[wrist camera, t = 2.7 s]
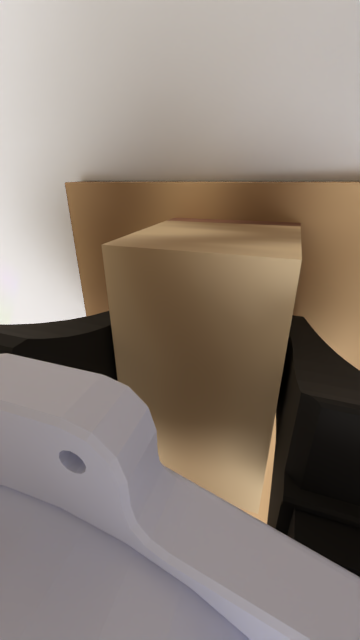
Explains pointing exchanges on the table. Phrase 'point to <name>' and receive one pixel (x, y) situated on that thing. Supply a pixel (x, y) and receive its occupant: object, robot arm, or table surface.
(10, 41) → the table surface
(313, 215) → the oak board
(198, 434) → the block
